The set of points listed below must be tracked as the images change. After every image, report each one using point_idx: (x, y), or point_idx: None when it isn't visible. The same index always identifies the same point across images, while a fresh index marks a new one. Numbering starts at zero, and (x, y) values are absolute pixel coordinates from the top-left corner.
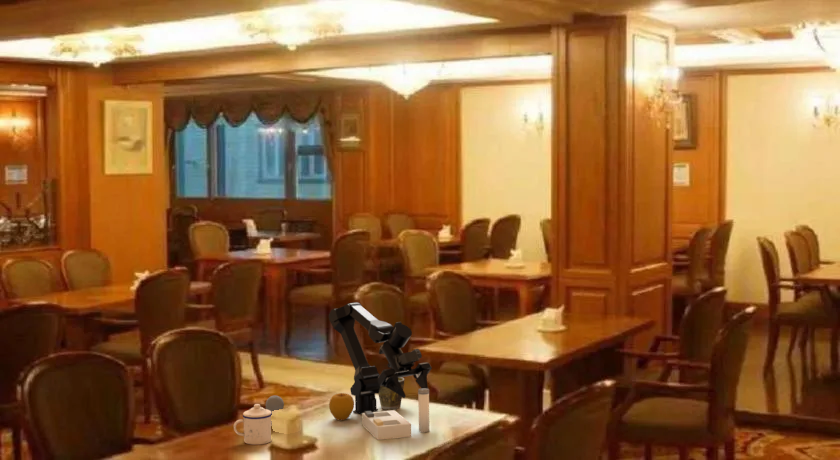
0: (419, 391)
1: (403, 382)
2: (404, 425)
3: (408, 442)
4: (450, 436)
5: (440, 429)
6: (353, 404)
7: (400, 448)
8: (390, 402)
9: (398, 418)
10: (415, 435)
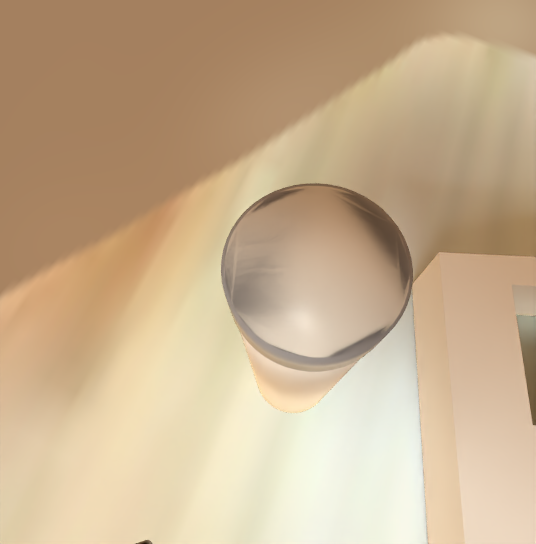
0: (396, 242)
1: None
2: (488, 258)
3: (456, 182)
4: (195, 200)
5: (177, 367)
6: None
7: (519, 106)
8: None
9: (508, 463)
10: None
